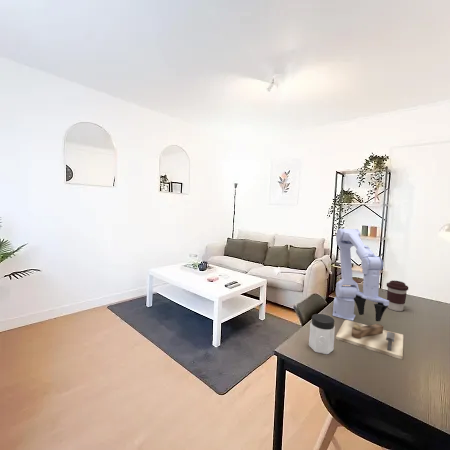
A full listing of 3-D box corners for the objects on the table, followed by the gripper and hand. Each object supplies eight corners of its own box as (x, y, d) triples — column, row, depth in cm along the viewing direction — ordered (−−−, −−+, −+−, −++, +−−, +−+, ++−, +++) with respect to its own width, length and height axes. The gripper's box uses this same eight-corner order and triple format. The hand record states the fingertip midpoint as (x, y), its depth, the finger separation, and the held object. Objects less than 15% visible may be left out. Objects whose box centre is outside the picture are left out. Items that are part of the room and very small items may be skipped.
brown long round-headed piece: (356, 338, 106) (357, 331, 105) (349, 334, 109) (350, 327, 109) (384, 333, 111) (384, 326, 111) (376, 329, 114) (377, 323, 114)
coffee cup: (405, 308, 144) (408, 281, 143) (406, 314, 136) (409, 286, 135) (384, 303, 150) (387, 278, 148) (384, 309, 141) (386, 282, 140)
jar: (308, 351, 98) (310, 320, 97) (308, 340, 106) (310, 312, 105) (334, 356, 95) (336, 324, 94) (332, 345, 103) (334, 315, 102)
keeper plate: (335, 338, 108) (336, 325, 107) (344, 321, 124) (345, 309, 124) (402, 359, 95) (403, 343, 94) (403, 337, 111) (404, 324, 111)
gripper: (349, 281, 113) (347, 312, 114) (381, 290, 100) (380, 325, 101) (360, 280, 116) (358, 311, 117) (393, 289, 103) (391, 323, 104)
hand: (369, 317), depth 109 cm, fingers open, 7 cm apart
